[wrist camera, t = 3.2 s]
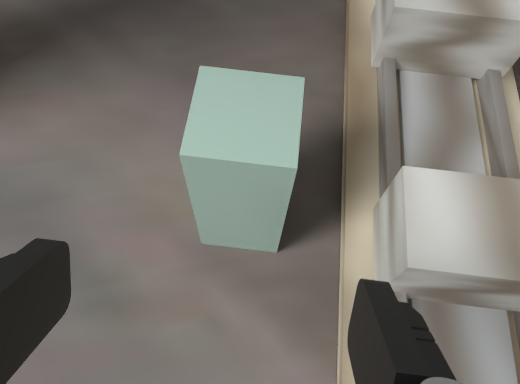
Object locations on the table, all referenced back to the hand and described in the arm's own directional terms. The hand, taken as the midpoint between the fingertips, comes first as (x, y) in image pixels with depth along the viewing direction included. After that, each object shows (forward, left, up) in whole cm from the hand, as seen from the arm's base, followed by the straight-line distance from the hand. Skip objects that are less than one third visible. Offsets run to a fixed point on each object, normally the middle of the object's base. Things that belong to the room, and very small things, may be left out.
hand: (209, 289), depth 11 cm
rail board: (+12, +14, -12) cm, 22 cm away
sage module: (0, +8, -12) cm, 14 cm away
